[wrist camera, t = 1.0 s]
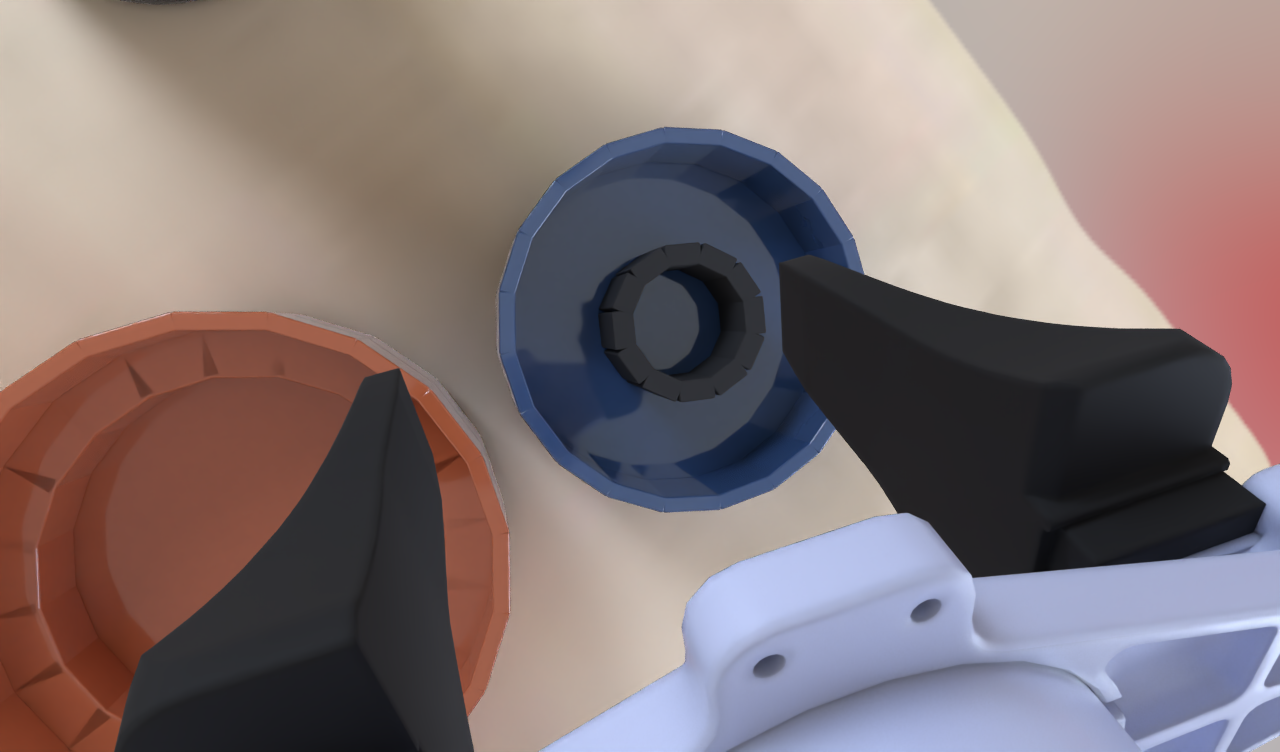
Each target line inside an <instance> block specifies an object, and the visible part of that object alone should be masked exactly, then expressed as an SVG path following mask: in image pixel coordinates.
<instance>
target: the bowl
mask: <svg viewBox="0 0 1280 752" xmlns="http://www.w3.org/2000/svg"><path fill="white" fill-rule="evenodd" d="M397 368H400V371H401V373H402V376H403V379H404V381H405V384H406V386H407V389H408V391H409V394H410V397H411V399H412V402H413V404H414V407H415V409H416V412H417V415H418V417H419V420H420V422H421V425H422V427H423V430H424V433H425V435H426V438H427V440H428V443H429V445H430V448H431V451H432V453H433V457H434V462H435V467H436V472H437V477H438V482H439V487H440V493H441V498H442V508H443V523H444V539H445V557H446V574H447V592H448V606H449V615H450V624H451V630H452V636H453V642H454V647H455V653H456V659H457V665H458V670H459V676H460V681H461V686H462V692H463V697H464V703H465V708H466V713H467V717H468V716H469V714H470V713H471V712H472V710H473V709H474V707H475V706H476V704H477V703H478V702H479V700H480V699H481V697H482V696H483V694H484V693H485V690H486V689H487V686H488V683H489V679H490V676H491V673H492V670H493V667H494V664H495V660H496V657H497V654H498V651H499V648H500V645H501V641H502V638H503V635H504V632H505V629H506V626H507V622H508V619H509V616H510V611H511V610H510V533H509V528H508V522H507V517H506V511H505V506H504V501H503V497H502V494H501V491H500V488H499V485H498V482H497V479H496V477H495V474H494V471H493V468H492V465H491V462H490V459H489V457H488V454H487V451H486V448H485V445H484V442H483V439H482V437H481V436H480V433H479V432H478V430H477V429H476V428H475V427H474V425H473V424H472V423H471V421H470V420H469V419H468V418H467V416H466V415H465V414H464V412H463V411H462V410H461V409H460V407H459V406H458V405H457V403H456V402H455V401H454V399H453V398H452V397H451V396H450V394H449V393H448V392H447V390H446V389H445V388H444V387H443V385H442V384H441V383H440V381H439V380H436V378H435V377H434V376H433V375H431V374H430V373H428V372H427V371H426V370H424V369H423V368H421V367H420V366H418V365H417V364H415V363H414V362H412V361H411V360H409V359H408V358H406V357H405V356H404V355H402V354H401V353H399V352H398V351H396V350H395V349H393V348H392V347H390V346H389V345H387V344H386V343H384V342H383V341H382V340H380V339H379V338H375V337H374V336H372V335H369V334H366V333H362V332H359V331H356V330H353V329H349V328H346V327H343V326H339V325H336V324H333V323H330V322H326V321H323V320H320V319H317V318H313V317H310V316H307V315H301V314H293V313H278V312H168V313H165V314H162V315H158V316H155V317H152V318H148V319H145V320H142V321H138V322H135V323H132V324H128V325H125V326H122V327H118V328H115V329H112V330H108V331H105V332H102V333H98V334H95V335H92V336H88V337H85V338H82V339H79V340H78V341H74V342H73V343H71V344H70V345H68V346H67V347H66V348H64V349H63V350H61V351H60V352H58V353H57V354H55V355H54V356H52V357H51V358H49V359H48V360H46V361H45V362H43V363H42V364H40V365H39V366H37V367H36V368H34V369H33V370H31V371H30V372H29V373H27V374H26V375H24V376H23V377H21V378H20V379H18V380H17V381H15V382H14V383H12V384H11V385H9V386H8V387H6V388H5V389H3V390H2V391H0V752H114V750H115V746H116V741H117V737H118V733H119V729H120V725H121V721H122V716H123V712H124V708H125V704H126V700H127V697H128V693H129V689H130V685H131V683H132V680H133V677H134V674H135V671H136V669H137V666H138V663H139V660H140V657H141V655H142V654H143V653H145V652H146V651H148V650H149V649H150V648H152V647H153V646H154V645H156V644H157V643H158V642H159V641H161V640H162V639H163V638H164V637H166V636H167V635H168V634H169V633H171V632H172V631H173V630H174V629H176V628H177V627H178V626H180V625H181V624H182V623H183V622H185V621H186V620H187V619H188V618H190V617H191V616H192V615H193V614H194V613H196V612H197V611H198V610H199V609H200V608H201V607H203V606H204V605H205V604H206V603H207V602H208V601H209V600H210V599H211V598H213V597H214V596H215V595H216V594H217V593H218V592H219V591H220V590H221V589H222V588H223V587H225V586H226V585H227V584H228V583H229V582H230V581H231V580H232V579H233V578H234V577H235V576H236V575H237V574H238V573H239V572H240V571H241V570H242V569H243V568H244V567H245V566H246V565H247V563H248V562H249V561H250V560H251V559H252V558H253V557H254V556H255V555H256V553H257V552H258V551H259V550H260V549H261V548H262V547H263V546H264V544H265V543H266V542H267V541H268V540H269V539H270V538H271V537H272V536H273V534H274V533H275V532H276V531H277V530H278V528H279V527H280V526H281V525H282V523H283V522H284V521H285V519H286V518H287V517H288V516H289V514H290V513H291V512H292V510H293V509H294V508H295V506H296V505H297V504H298V502H299V501H300V499H301V498H302V496H303V495H304V493H305V491H306V490H307V488H308V487H309V485H310V483H311V482H312V480H313V478H314V477H315V475H316V473H317V472H318V470H319V468H320V466H321V465H322V463H323V461H324V460H325V458H326V456H327V454H328V452H329V450H330V448H331V446H332V444H333V443H334V441H335V439H336V437H337V435H338V433H339V431H340V429H341V427H342V425H343V422H344V420H345V418H346V416H347V414H348V412H349V409H350V407H351V405H352V403H353V400H354V398H355V396H356V393H357V391H358V389H359V386H360V384H361V383H362V381H363V379H364V378H365V377H368V376H371V375H375V374H379V373H382V372H386V371H389V370H393V369H397Z"/></svg>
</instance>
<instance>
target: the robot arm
mask: <svg viewBox="0 0 1280 752" xmlns="http://www.w3.org/2000/svg"><path fill="white" fill-rule="evenodd" d="M779 279H780V303H781V328H782V351H783V353H784V355H785V357H786V358H787V360H788V362H789V364H790V366H791V367H792V369H793V371H794V373H795V374H796V376H797V378H798V379H799V381H800V383H801V384H802V386H803V388H804V389H805V391H806V392H807V393H808V395H809V396H810V397H811V399H812V400H813V401H814V402H815V404H816V405H817V406H818V407H819V409H820V410H821V411H822V412H823V414H824V415H825V416H826V418H827V419H828V420H829V421H830V422H831V424H832V425H833V426H834V427H835V429H836V430H837V431H838V432H839V434H840V435H841V436H842V437H843V438H844V440H845V441H846V442H847V443H848V445H849V446H850V447H851V448H852V449H853V451H854V452H855V453H856V454H857V456H858V457H859V458H860V459H861V461H862V462H863V463H864V464H865V465H866V467H867V468H868V469H869V471H870V472H871V473H872V475H873V476H874V478H875V479H876V480H877V482H878V483H879V484H880V486H881V488H882V489H883V491H884V492H885V494H886V495H887V497H888V499H889V500H890V502H891V503H892V505H893V507H894V508H895V510H896V511H897V513H898V514H892V515H884V516H876V517H872V518H869V519H866V520H863V521H860V522H857V523H854V524H851V525H848V526H845V527H842V528H839V529H836V530H833V531H830V532H827V533H824V534H821V535H818V536H815V537H812V538H809V539H806V540H803V541H800V542H797V543H794V544H791V545H788V546H785V547H782V548H779V549H776V550H773V551H770V552H767V553H764V554H761V555H758V556H755V557H752V558H749V559H746V560H743V561H740V562H737V563H735V564H733V565H731V566H730V567H728V568H726V569H724V570H722V571H720V572H718V573H716V574H715V575H713V576H711V577H709V578H708V579H707V580H706V582H705V583H704V584H703V585H702V586H701V587H700V588H699V589H698V591H697V592H696V593H695V594H694V595H693V596H692V597H691V599H690V600H689V601H688V603H687V604H686V609H685V614H684V619H683V623H682V633H683V639H684V644H685V650H686V653H685V663H684V664H683V665H682V666H680V667H678V668H677V669H675V670H673V671H672V672H670V673H668V674H667V675H665V676H663V677H662V678H660V679H658V680H657V681H655V682H653V683H652V684H650V685H648V686H647V687H645V688H643V689H642V690H640V691H638V692H637V693H635V694H633V695H631V696H630V697H628V698H626V699H625V700H623V701H621V702H620V703H618V704H616V705H615V706H613V707H611V708H610V709H608V710H606V711H605V712H603V713H601V714H600V715H598V716H596V717H595V718H593V719H591V720H590V721H588V722H586V723H585V724H583V725H581V726H580V727H578V728H576V729H575V730H573V731H571V732H570V733H568V734H566V735H565V736H563V737H561V738H560V739H558V740H556V741H555V742H553V743H551V744H550V745H548V746H546V747H545V748H543V749H541V750H540V751H538V752H1251V751H1252V750H1254V749H1256V748H1258V747H1259V746H1261V745H1263V744H1265V743H1267V742H1269V741H1270V740H1272V739H1274V738H1276V737H1278V736H1280V464H1278V465H1275V466H1272V467H1269V468H1266V469H1263V470H1261V471H1259V472H1257V473H1256V474H1254V475H1252V476H1251V477H1250V478H1249V479H1248V480H1247V481H1245V482H1244V484H1243V485H1240V484H1239V483H1238V482H1237V481H1235V480H1234V479H1233V478H1231V477H1230V476H1229V475H1227V474H1226V473H1225V472H1223V471H1225V470H1228V468H1229V465H1230V462H1229V460H1228V458H1227V457H1226V456H1224V455H1223V454H1222V453H1220V452H1219V451H1217V450H1216V449H1215V448H1213V447H1212V443H1213V441H1214V438H1215V435H1216V432H1217V430H1218V427H1219V424H1220V422H1221V419H1222V416H1223V414H1224V411H1225V408H1226V406H1227V403H1228V399H1229V395H1230V391H1231V386H1232V379H1231V368H1230V366H1229V364H1228V363H1227V361H1226V359H1225V358H1224V356H1222V355H1220V354H1219V353H1217V352H1216V351H1214V350H1212V349H1211V348H1209V347H1208V346H1206V345H1205V344H1203V343H1202V342H1200V341H1198V340H1197V339H1195V338H1194V337H1192V336H1191V335H1189V334H1187V333H1186V332H1184V331H1183V330H1181V329H1118V328H1099V327H1084V326H1071V325H1062V324H1052V323H1044V322H1037V321H1031V320H1024V319H1017V318H1011V317H1005V316H1000V315H995V314H990V313H986V312H982V311H977V310H973V309H968V308H964V307H960V306H956V305H952V304H949V303H945V302H942V301H939V300H936V299H932V298H929V297H926V296H923V295H919V294H916V293H913V292H910V291H907V290H905V289H902V288H899V287H896V286H893V285H890V284H888V283H885V282H882V281H880V280H877V279H874V278H872V277H869V276H867V275H864V274H861V273H859V272H856V271H854V270H851V269H849V268H846V267H843V266H841V265H838V264H835V263H833V262H830V261H827V260H825V259H822V258H819V257H815V256H812V255H805V256H802V257H798V258H795V259H791V260H787V261H784V262H780V263H779ZM114 752H474V749H473V744H472V739H471V734H470V729H469V724H468V719H467V713H466V708H465V703H464V697H463V692H462V686H461V681H460V676H459V670H458V665H457V659H456V653H455V647H454V642H453V636H452V630H451V624H450V615H449V606H448V592H447V574H446V557H445V539H444V523H443V508H442V498H441V493H440V487H439V482H438V477H437V472H436V467H435V462H434V457H433V453H432V451H431V448H430V445H429V443H428V440H427V438H426V435H425V433H424V430H423V427H422V425H421V422H420V420H419V417H418V415H417V412H416V409H415V407H414V404H413V402H412V399H411V397H410V394H409V391H408V389H407V386H406V384H405V381H404V379H403V376H402V373H401V371H400V368H397V369H393V370H389V371H386V372H382V373H379V374H375V375H371V376H368V377H365V378H364V379H363V381H362V383H361V384H360V386H359V389H358V391H357V393H356V396H355V398H354V400H353V403H352V405H351V407H350V409H349V412H348V414H347V416H346V418H345V420H344V422H343V425H342V427H341V429H340V431H339V433H338V435H337V437H336V439H335V441H334V443H333V444H332V446H331V448H330V450H329V452H328V454H327V456H326V458H325V460H324V461H323V463H322V465H321V466H320V468H319V470H318V472H317V473H316V475H315V477H314V478H313V480H312V482H311V483H310V485H309V487H308V488H307V490H306V491H305V493H304V495H303V496H302V498H301V499H300V501H299V502H298V504H297V505H296V506H295V508H294V509H293V510H292V512H291V513H290V514H289V516H288V517H287V518H286V519H285V521H284V522H283V523H282V525H281V526H280V527H279V528H278V530H277V531H276V532H275V533H274V534H273V536H272V537H271V538H270V539H269V540H268V541H267V542H266V543H265V544H264V546H263V547H262V548H261V549H260V550H259V551H258V552H257V553H256V555H255V556H254V557H253V558H252V559H251V560H250V561H249V562H248V563H247V565H246V566H245V567H244V568H243V569H242V570H241V571H240V572H239V573H238V574H237V575H236V576H235V577H234V578H233V579H232V580H231V581H230V582H229V583H228V584H227V585H226V586H225V587H223V588H222V589H221V590H220V591H219V592H218V593H217V594H216V595H215V596H214V597H213V598H211V599H210V600H209V601H208V602H207V603H206V604H205V605H204V606H203V607H201V608H200V609H199V610H198V611H197V612H196V613H194V614H193V615H192V616H191V617H190V618H188V619H187V620H186V621H185V622H183V623H182V624H181V625H180V626H178V627H177V628H176V629H174V630H173V631H172V632H171V633H169V634H168V635H167V636H166V637H164V638H163V639H162V640H161V641H159V642H158V643H157V644H156V645H154V646H153V647H152V648H150V649H149V650H148V651H146V652H145V653H143V654H142V655H141V657H140V660H139V663H138V666H137V669H136V671H135V674H134V677H133V680H132V683H131V685H130V689H129V693H128V697H127V700H126V704H125V708H124V712H123V716H122V721H121V725H120V729H119V733H118V737H117V741H116V746H115V750H114Z"/></svg>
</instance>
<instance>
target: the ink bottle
mask: <svg viewBox="0 0 1280 752" xmlns="http://www.w3.org/2000/svg"><path fill="white" fill-rule="evenodd" d="M122 1H127V2H133V3H142V4H177V3H185V2H191V1H196V0H122Z"/></svg>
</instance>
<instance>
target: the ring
mask: <svg viewBox="0 0 1280 752" xmlns="http://www.w3.org/2000/svg"><path fill="white" fill-rule="evenodd" d="M736 261H737V258H735V257H733V256H731V255H729V254H727V253H725V252H723V251H721V250H719V249H717V248H715V247H713V246H710V245H708V244H706V243H704V244H701V245H700V243H698V242H695V243H684V244H673V245H665V246H663V247H659V248H657V249H654V250H652V251H649V252H647V253H645V254H642V255H640V256H639V257H638V258H636V259H635V260H634V261H632V262H631V263H629V264H628V265H627V266H625V267H624V268H623V269H621V270H620V271H619V272H617V273H616V277H614V278H612V279H611V282H610V284H609V286H608V289H607V291H606V293H605V295H604V298H603V300H602V302H601V305H600V307H599V309H600V310H601V311H603V312H604V313H599V314H598V318H599V328H600V337H601V346H602V347H603V348H607V349H606V350H605V351H604V353H605V355H606V356H607V358H608V359H609V360H610V362H611V363H612V364H613V366H614V367H615V369H616V370H617V371H618V373H619V374H620V375H621V377H622V378H623V379H626V380H627V382H628V383H630V384H633V385H635V386H637V387H639V388H642V389H644V390H646V391H649V392H651V393H653V394H655V395H658V396H661V397H663V398H666V399H669V400H671V401H674V402H676V401H679V402H689V401H697V400H705V399H712V398H715V394H716V395H719V396H720V395H722V394H723V393H725V392H726V391H727V390H728V389H730V388H731V387H732V386H734V385H735V384H736V383H738V382H739V381H740V380H741V379H743V378H744V377H745V376H747V372H746V370H751V369H752V367H753V364H754V362H755V360H756V357H757V355H758V353H759V350H760V348H761V346H762V343H763V341H764V336H762V335H760V334H761V333H766V325H765V314H764V303H763V296H757V295H758V294H759V293H760V292H761V291H760V289H759V288H758V286H757V285H756V283H755V282H754V280H753V279H752V277H751V276H750V274H749V273H748V271H747V270H746V269H745V267H744V266H743V264H742V263H741V262H739V263H736ZM673 270H679V271H681V272H684V273H686V274H688V275H690V276H692V277H694V278H696V279H698V280H700V281H703V283H704V284H705V286H706V287H707V289H708V290H709V291H710V293H711V294H712V296H713V297H714V299H715V300H716V302H717V303H718V309H719V319H720V330H721V332H720V334H719V337H718V339H717V341H716V344H715V346H714V348H713V351H712V353H711V355H710V356H709V357H708V358H707V359H706V360H704V361H703V362H702V363H700V364H699V365H698V366H696V367H695V368H694V369H692V370H691V371H690V372H687V373H679V374H671V375H667V374H665V373H663V372H661V371H658V370H656V369H654V368H653V367H652V365H651V364H650V362H649V361H648V360H647V358H646V357H645V355H644V354H643V353H642V351H641V350H640V348H639V347H638V346H637V344H636V336H635V326H634V317H633V313H634V310H635V308H636V306H637V303H638V301H639V299H640V297H641V294H642V292H643V290H644V287H645V285H646V284H648V283H649V282H650V281H652V280H653V279H654V278H656V277H657V276H658V275H660V274H661V273H663V272H664V271H673ZM755 296H757V297H755ZM745 369H746V370H745Z"/></svg>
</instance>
